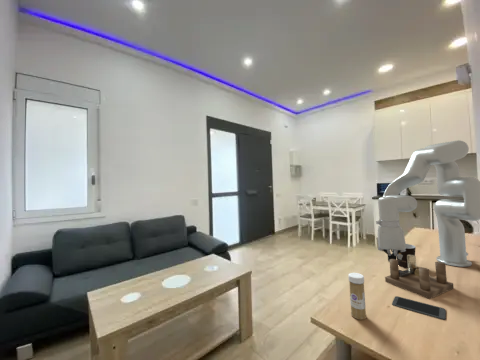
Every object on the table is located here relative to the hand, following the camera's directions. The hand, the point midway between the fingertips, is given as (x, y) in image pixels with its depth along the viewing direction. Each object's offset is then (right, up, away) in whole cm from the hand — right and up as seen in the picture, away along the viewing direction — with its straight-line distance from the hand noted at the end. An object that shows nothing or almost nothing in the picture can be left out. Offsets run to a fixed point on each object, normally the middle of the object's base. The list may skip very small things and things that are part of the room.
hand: (392, 263), depth 100 cm
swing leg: (+3, -2, -5) cm, 6 cm away
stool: (+3, -5, -11) cm, 12 cm away
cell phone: (-9, -6, -26) cm, 28 cm away
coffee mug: (+13, -5, +10) cm, 17 cm away
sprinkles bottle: (-31, -7, -28) cm, 42 cm away
